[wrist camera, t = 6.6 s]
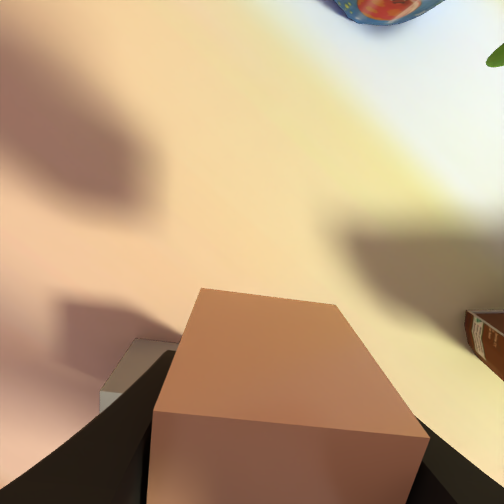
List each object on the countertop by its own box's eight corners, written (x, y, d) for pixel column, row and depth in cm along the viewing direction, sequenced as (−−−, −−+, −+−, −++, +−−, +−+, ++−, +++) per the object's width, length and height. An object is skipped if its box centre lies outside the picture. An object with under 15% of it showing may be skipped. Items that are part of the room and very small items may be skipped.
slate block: (201, 345, 20) (187, 400, 15) (195, 398, 21) (180, 465, 16) (135, 337, 19) (99, 390, 15) (133, 392, 21) (98, 458, 16)
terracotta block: (335, 304, 9) (429, 437, 5) (309, 414, 11) (363, 612, 6) (201, 288, 9) (152, 410, 4) (188, 402, 10) (139, 600, 6)
